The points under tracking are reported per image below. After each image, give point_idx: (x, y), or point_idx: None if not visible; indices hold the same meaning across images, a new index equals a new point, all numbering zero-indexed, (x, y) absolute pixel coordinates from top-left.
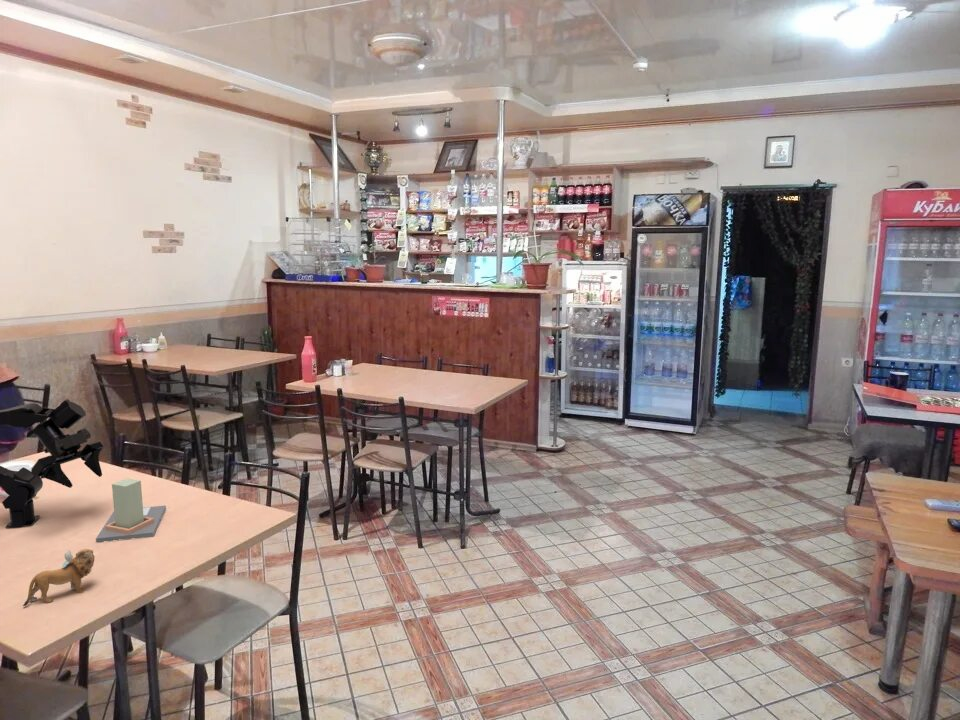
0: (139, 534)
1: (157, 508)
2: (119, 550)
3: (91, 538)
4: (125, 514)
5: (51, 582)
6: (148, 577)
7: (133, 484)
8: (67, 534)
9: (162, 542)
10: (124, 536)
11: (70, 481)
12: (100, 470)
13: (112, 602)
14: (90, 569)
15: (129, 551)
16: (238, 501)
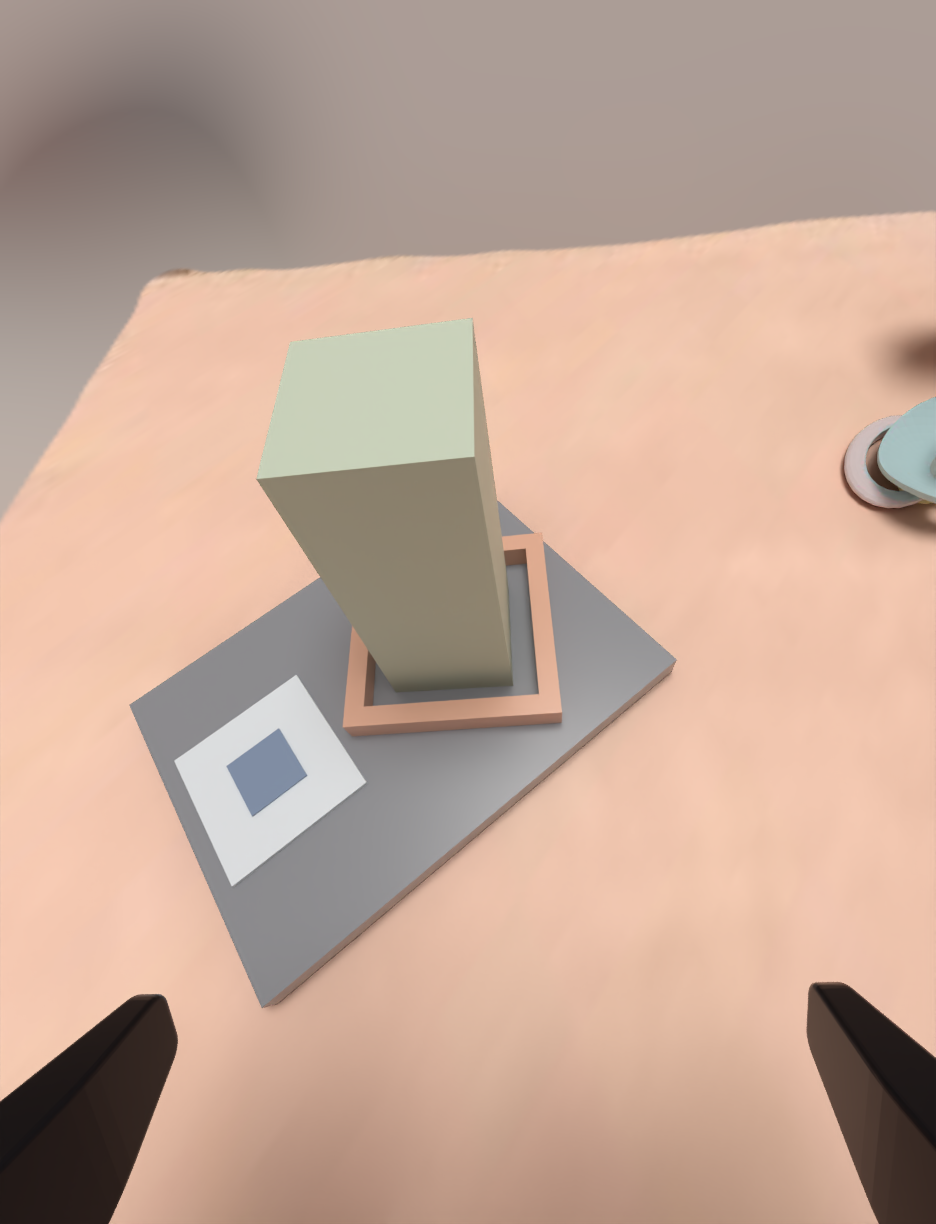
0: (512, 515)
1: (182, 711)
2: (656, 499)
3: (650, 756)
4: (500, 536)
5: None
6: (729, 273)
7: (379, 340)
8: (712, 1011)
9: (503, 423)
10: (562, 560)
11: (871, 1068)
12: (55, 1069)
13: (902, 236)
14: (862, 430)
15: (637, 458)
16: (29, 483)
